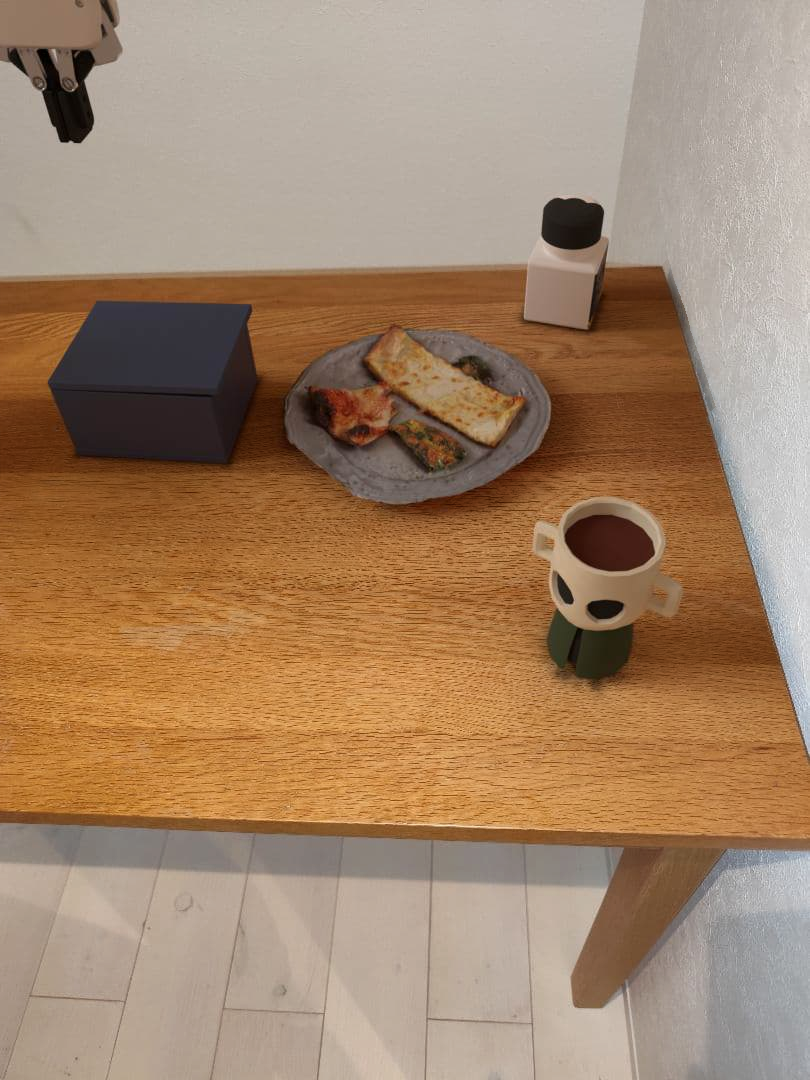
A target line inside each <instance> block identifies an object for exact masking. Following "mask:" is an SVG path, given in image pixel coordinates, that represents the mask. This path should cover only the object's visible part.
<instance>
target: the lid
mask: <svg viewBox="0 0 810 1080" xmlns="http://www.w3.org/2000/svg"><path fill="white" fill-rule="evenodd" d="M252 313H253V307H252V304H251V303H223V302H221V303H216V302H213V303H212V302H172V301H171V302H170V301H131V300H130V301H126V300H124V301H123V300H96V301H95V303H94V305H93V306H92V307H91V309H90V311H89V313H88V314H87V316H86V318H85V319H84V321H83V322H82V323H81V326H80V328H79V329H78V331H77V333H76V334H75V336H74V337H73V339H72V341H71V342H70V344H69V345H68V347H67V348H66V350H65V352H64V353H63V355H62V357H61V359H60V360H59V362H58V364H57V365H56V367H55V368H54V370H53V372H52V373H51V375H50V377H49V378H48V380H47V382H46V383H47V385H48V387H49V389H50V390H51V389H61V390H90V391H119V392H148V393H177V394H206V395H219V393H220V391H221V388H222V386H223V383H224V381H225V378H226V376H227V373H228V371H229V368H230V366H231V363H232V361H233V358H234V356H235V353H236V351H237V348H238V346H239V343H240V341H241V338H242V336H243V333H244V331H245V328H246V326H248V324H249V321H250V318H251V316H252Z"/></svg>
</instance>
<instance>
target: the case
mask: <svg viewBox="0 0 810 1080" xmlns="http://www.w3.org/2000/svg"><path fill="white" fill-rule="evenodd" d="M249 331H250V330H249V326H248V325H247V326H246V328H245V331H244V333H243V336H242V338H241V341H240V343H239V346H238V348H237V351H236V353H235V356H234V358H233V361H232V363H231V366H230V368H229V371H228V373H227V376H226V378H225V381H224V383H223V386H222V388H221V391H220V393H219V395H206V394H177V393H148V392H119V391H90V390H61V389H50V393H51V395H52V397H53V400H54V402H55V404H56V407H57V410H58V411H59V414H60V416H61V418H62V421H63V423H64V426H65V428H66V431H67V433H68V435H69V438H70V440H71V442H72V445H73V448H74V450H75V453H76V455H78V456H90V457H91V456H92V457H109V458H126V459H127V458H128V459H142V460H160V461H163V460H164V461H175V462H176V461H177V462H178V461H179V462H191V463H192V462H193V463H195V462H196V463H212V464H213V463H214V464H228V462H229V460H230V456H231V455H232V451H233V448H234V445H235V443H236V441H237V438H238V434H239V432H240V430H241V426H242V424H243V421H244V419H245V416H246V414H247V413H246V412H247V410H248V407H249V405H250V402H251V399H252V397H253V393H254V391H255V388H256V386H257V383H258V379H259V378H258V374H257V373H258V371H257V366H256V362H255V356H254V351H253V347H252V342H251V335H250V332H249Z"/></svg>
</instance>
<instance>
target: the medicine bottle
mask: <svg viewBox="0 0 810 1080" xmlns="http://www.w3.org/2000/svg"><path fill="white" fill-rule="evenodd" d="M604 218H605V209H604V207H603V206H602V204H601V203H600V202H598V201H597V200H596V199H594V198H592V197H590V196H586V195H581V194H563V195H559V196H555V197H554V198H552V199H550V200H549V201H548V202H547V203H546V204H545V205H544V207H543V208H542V219H541V220H542V221H541V231H540V235H539V238H538V239H537V242H536V244H535V246H534V248H533V250H532V253H531V255H530V257H529V260H528V261H527V269H526V270H527V271H526V282H525V296H524V309H523V319H524V320H525V321H528V322H535V323H541V324H547V325H553V326H560V327H564V328H572V329H577V330H584V331H588V330H589V329H590V328H591V325H592V322H593V320H594V316H595V313H596V310H597V307H598V304H599V301H600V298H601V296H602V290H603V283H604V277H605V270H606V269H605V268H606V263H607V257H608V250H609V243H610V239H609V237H607V236H604V235H603V236H602V232H603V226H604Z"/></svg>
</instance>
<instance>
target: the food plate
mask: <svg viewBox="0 0 810 1080" xmlns="http://www.w3.org/2000/svg"><path fill="white" fill-rule="evenodd" d="M282 406H283V407H282V412H283V418H282V420H283V422H284V425H283V432H284V434H285V436H286V438H287V440H288V442H289V443H290V445H292V446H295V447H296V448H297V449H298V450H299V451H300V452H302V453H303V454H304V456H306V457H308V459H309V460H310V461H311V462H313V463H314V464H315V465H316V466H318V468H319V469H322V470H323V471H325V472H326V473H327V474H328V475H329V476H331V478H332V479H333V480H336V481H338V482H339V483H343V486H344V487H346V489H347V490H348V491H349V493H350V494H351V495H352V496H354V497H357V498H359V499H364V500H370V501H373V502H377V503H383V504H387V505H388V504H389V505H408V504H410V503H412V504H413V503H414V504H415V503H422V502H424V501H426V500H428V499H437V498H439V499H440V498H445V497H452V496H457V495H461V494H464V493H467V492H468V491H472V490H474V489H477V488H478V487H482V486H485V485H487V484H488V483H491V482H492V481H493V480H495V479H497V478H499V477H500V476H502V475H504V474H507V471H509V470H512V469H513V468H516V467H517V465H520V463H523V462H524V461H525V460H526V458H528V457H530V456H531V455H532V454H534V453H535V452H536V451H537V450H538V449H539V448H540V446H541V445H542V443H543V442H542V441H544V438H545V434H546V433H547V431H548V429H549V427H550V420H551V419H552V417H551V415H552V401H551V397H550V394H549V392H548V390H547V389H546V388H545V386H544V385H543V383H542V381H541V378H540V377H539V375H538V374H537V372H536V371H535V370H533V368H532V367H530V366H529V365H527V364H526V363H525V362H523V361H521V360H520V359H519V358H517V357H516V356H513V355H511V354H510V353H508V352H507V351H505V350H503V349H501V348H500V347H497V346H495V345H493V344H491V343H489V342H487V341H485V340H483V339H480V338H478V337H477V336H474V335H471V334H467V333H465V332H460V331H455V330H449V329H447V330H446V329H436V328H434V329H420V328H417V329H414V328H412V329H411V328H408V327H402V325H400V324H399V323H398V324H396V322H394V323H392V324H391V325H390V326H389V328H388V330H387V331H386V332H384V333H383V332H382V333H379V334H377V333H376V334H374V333H373V334H368V335H366V336H362V337H360V338H358V339H355V340H351V341H350V342H347V343H346V344H343V345H340V346H338V347H334V348H333V349H329V350H327V351H326V353H325V352H324V353H323V354H322V355H321V356H319V357H317V358H316V359H315V360H313V361H312V362H310V364H308V365H307V366H306V367H305V369H304V370H303V371H301V373H300V374H299V375H298V377H297V379H296V381H295V382H294V383H293V384H292V386H291V387H290V388H289V390H287V393H286V395H285V396H284V398H283V403H282Z"/></svg>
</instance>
